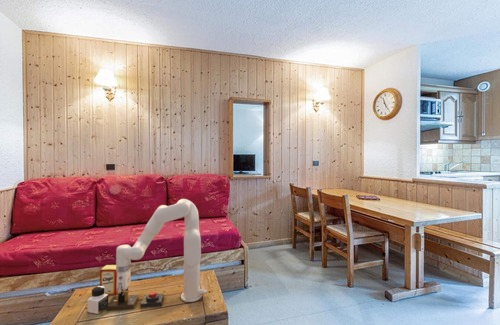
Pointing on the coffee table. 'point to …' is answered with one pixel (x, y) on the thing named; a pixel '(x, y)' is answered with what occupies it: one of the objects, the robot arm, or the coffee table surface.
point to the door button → (152, 294)
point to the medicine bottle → (98, 300)
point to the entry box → (152, 300)
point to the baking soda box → (109, 279)
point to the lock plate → (122, 303)
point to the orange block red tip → (126, 295)
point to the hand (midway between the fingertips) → (123, 298)
